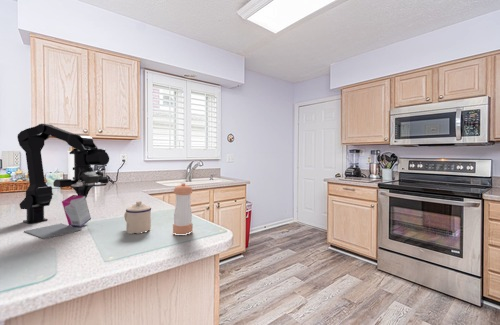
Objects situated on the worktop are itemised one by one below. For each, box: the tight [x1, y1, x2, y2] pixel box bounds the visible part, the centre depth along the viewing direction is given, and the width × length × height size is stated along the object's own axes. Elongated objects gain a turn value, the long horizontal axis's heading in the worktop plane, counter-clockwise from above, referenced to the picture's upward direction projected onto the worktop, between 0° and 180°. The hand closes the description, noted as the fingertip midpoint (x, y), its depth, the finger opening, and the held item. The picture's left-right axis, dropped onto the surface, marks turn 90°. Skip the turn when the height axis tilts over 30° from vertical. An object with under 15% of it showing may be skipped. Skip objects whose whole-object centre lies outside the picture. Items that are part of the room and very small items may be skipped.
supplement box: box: [61, 194, 92, 228], centre depth 97 cm, size 6×6×12 cm
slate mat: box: [23, 223, 83, 240], centre depth 91 cm, size 16×12×1 cm
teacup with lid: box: [123, 200, 152, 234], centre depth 94 cm, size 12×9×12 cm
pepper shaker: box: [172, 183, 193, 234], centre depth 91 cm, size 7×7×19 cm
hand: (83, 201), depth 100 cm, fingers closed
